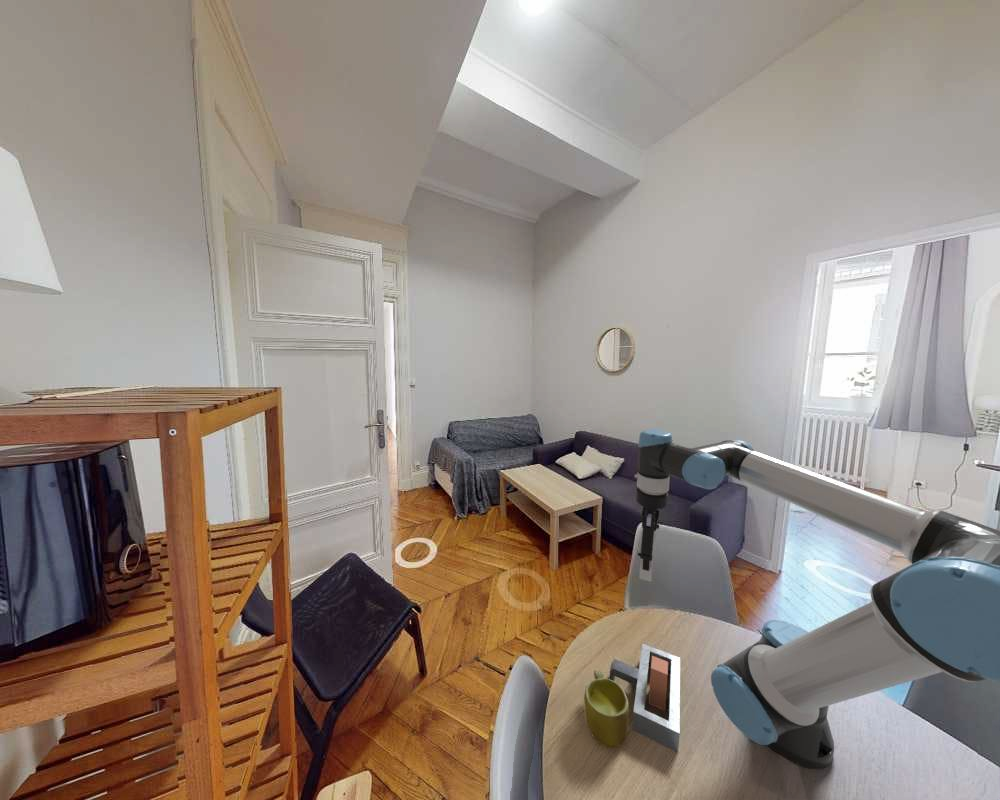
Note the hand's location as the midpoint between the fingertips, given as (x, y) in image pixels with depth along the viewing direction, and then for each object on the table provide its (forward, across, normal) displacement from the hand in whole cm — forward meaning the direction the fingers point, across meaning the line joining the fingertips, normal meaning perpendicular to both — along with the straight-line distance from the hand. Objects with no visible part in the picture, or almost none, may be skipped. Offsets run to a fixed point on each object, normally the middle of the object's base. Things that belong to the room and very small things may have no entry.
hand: (647, 563), depth 89 cm
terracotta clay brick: (+27, +13, +4) cm, 30 cm away
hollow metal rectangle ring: (+27, +13, +1) cm, 30 cm away
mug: (+27, +23, -6) cm, 36 cm away
